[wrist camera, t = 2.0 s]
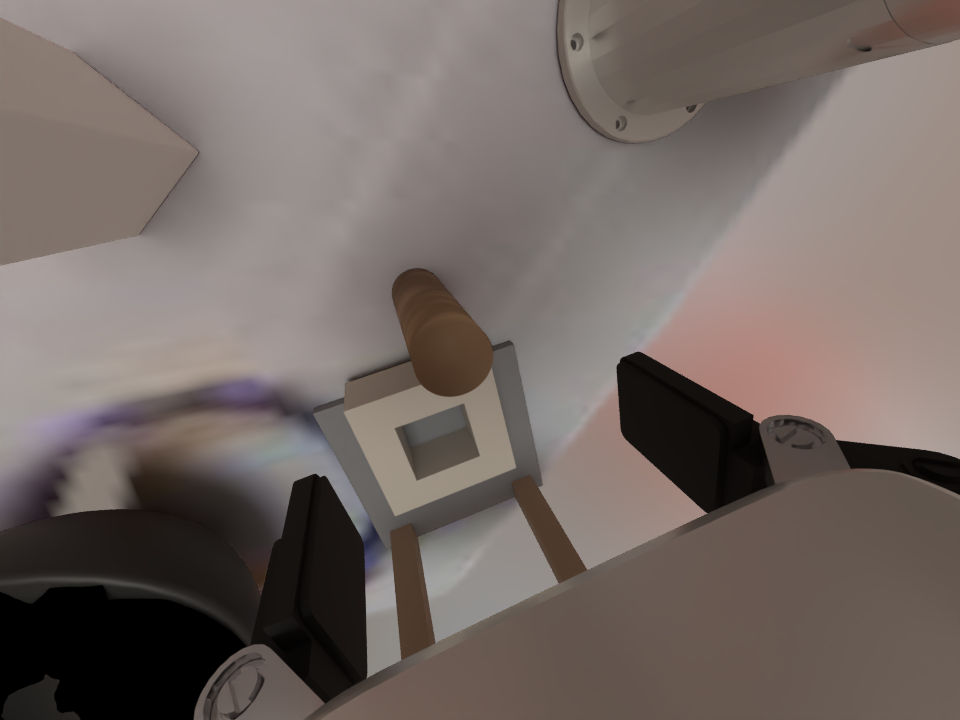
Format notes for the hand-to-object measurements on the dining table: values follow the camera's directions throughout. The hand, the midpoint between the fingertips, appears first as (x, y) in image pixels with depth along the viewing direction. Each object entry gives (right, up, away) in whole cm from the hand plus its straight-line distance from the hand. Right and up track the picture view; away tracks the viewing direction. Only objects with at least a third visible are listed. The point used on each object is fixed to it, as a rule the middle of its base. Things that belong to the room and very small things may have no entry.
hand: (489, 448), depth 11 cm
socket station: (-4, -5, +22) cm, 22 cm away
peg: (-5, +7, +16) cm, 18 cm away
